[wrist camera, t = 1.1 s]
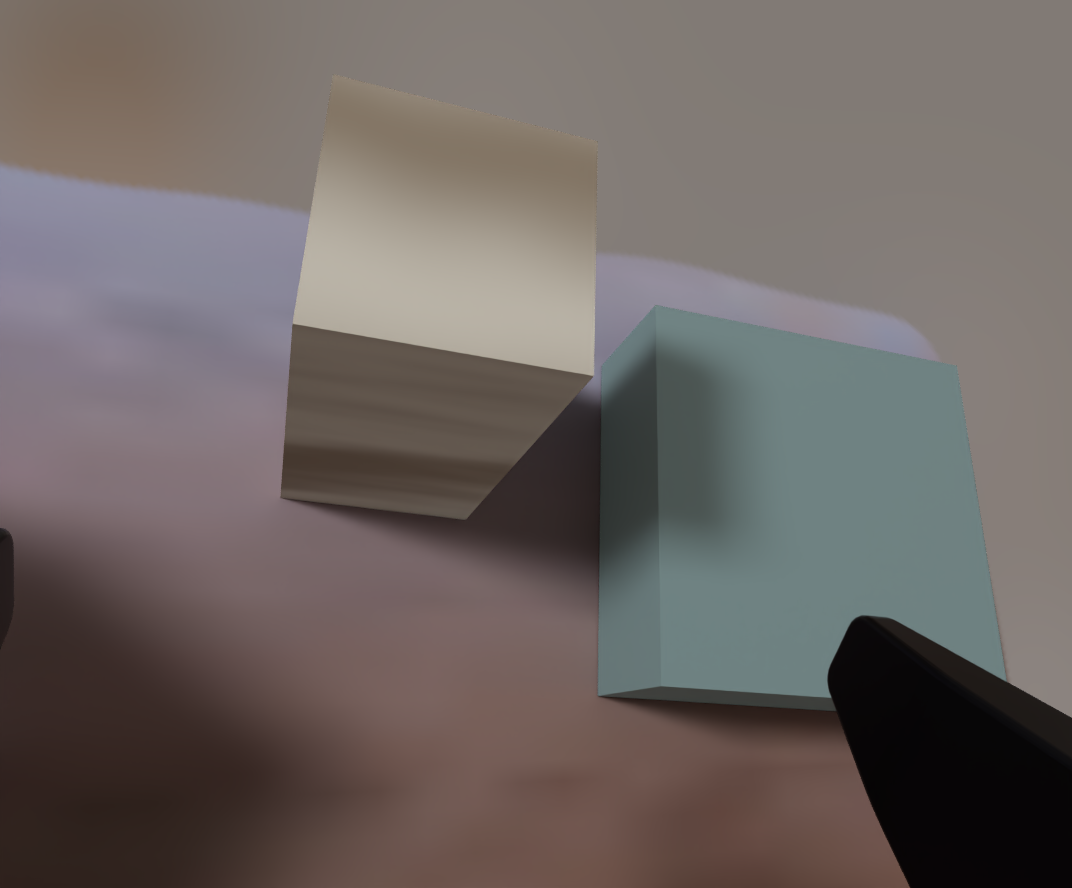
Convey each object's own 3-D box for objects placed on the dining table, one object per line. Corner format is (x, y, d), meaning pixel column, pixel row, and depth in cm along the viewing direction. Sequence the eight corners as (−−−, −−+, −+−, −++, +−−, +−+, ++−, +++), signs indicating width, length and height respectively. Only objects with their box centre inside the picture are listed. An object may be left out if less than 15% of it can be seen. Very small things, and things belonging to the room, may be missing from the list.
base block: (904, 715, 25) (1011, 710, 22) (597, 695, 23) (661, 686, 19) (869, 413, 29) (956, 365, 25) (601, 366, 26) (655, 305, 22)
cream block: (465, 519, 23) (593, 375, 14) (280, 497, 22) (292, 323, 13) (477, 359, 25) (597, 141, 16) (306, 330, 24) (333, 74, 15)
